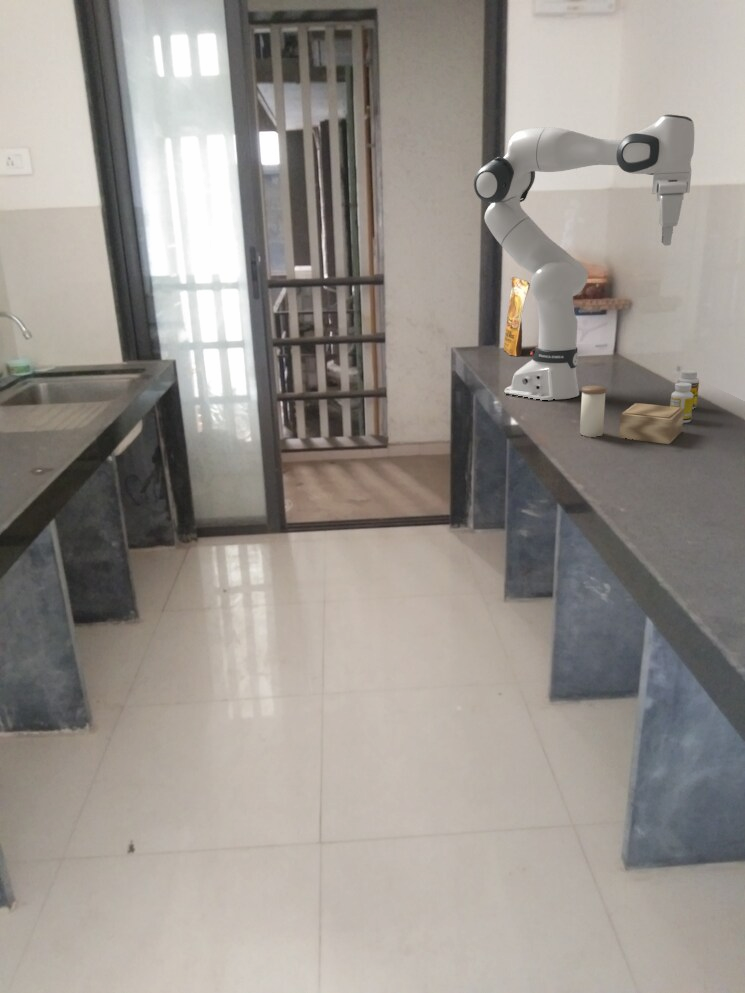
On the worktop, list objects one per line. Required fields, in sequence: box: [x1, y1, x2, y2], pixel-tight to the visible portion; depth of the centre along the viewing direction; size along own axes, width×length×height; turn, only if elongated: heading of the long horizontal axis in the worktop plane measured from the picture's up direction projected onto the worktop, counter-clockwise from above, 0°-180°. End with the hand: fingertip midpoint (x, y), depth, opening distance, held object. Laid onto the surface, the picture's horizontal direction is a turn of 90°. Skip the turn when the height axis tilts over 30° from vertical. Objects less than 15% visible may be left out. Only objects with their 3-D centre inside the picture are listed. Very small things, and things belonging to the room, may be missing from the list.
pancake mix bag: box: [503, 276, 531, 357], centre depth 296 cm, size 7×19×28 cm, turn 2°
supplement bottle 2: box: [669, 382, 693, 424], centre depth 201 cm, size 5×5×10 cm
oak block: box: [618, 402, 684, 445], centre depth 191 cm, size 12×12×6 cm
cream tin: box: [579, 385, 607, 438], centre depth 193 cm, size 6×6×12 cm
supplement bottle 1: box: [676, 369, 700, 410], centre depth 213 cm, size 6×6×10 cm
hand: (665, 244), depth 198 cm, fingers open, 8 cm apart
